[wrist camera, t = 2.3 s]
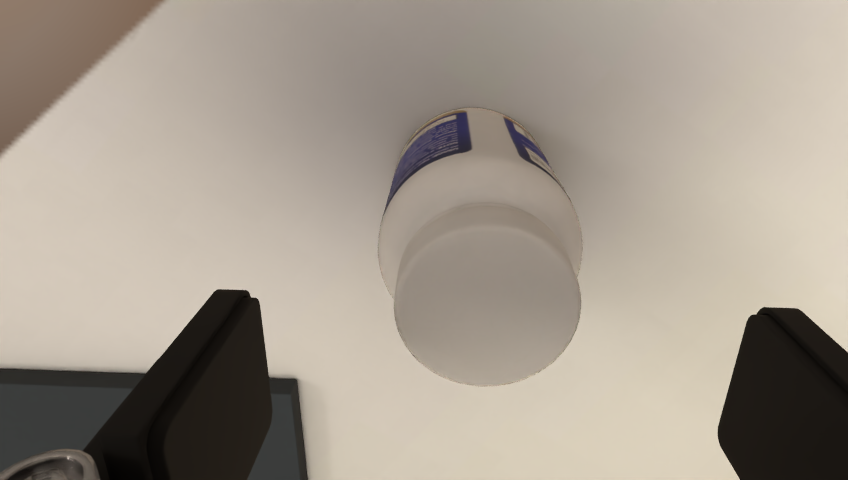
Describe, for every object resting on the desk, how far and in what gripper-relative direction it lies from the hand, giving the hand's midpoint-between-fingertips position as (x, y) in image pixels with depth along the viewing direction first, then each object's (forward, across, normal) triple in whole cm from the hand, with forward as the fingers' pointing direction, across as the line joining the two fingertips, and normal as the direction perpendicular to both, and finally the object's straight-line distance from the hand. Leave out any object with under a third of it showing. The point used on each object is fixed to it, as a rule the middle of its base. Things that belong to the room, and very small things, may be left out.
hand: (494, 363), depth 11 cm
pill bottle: (+10, 0, -1) cm, 10 cm away
